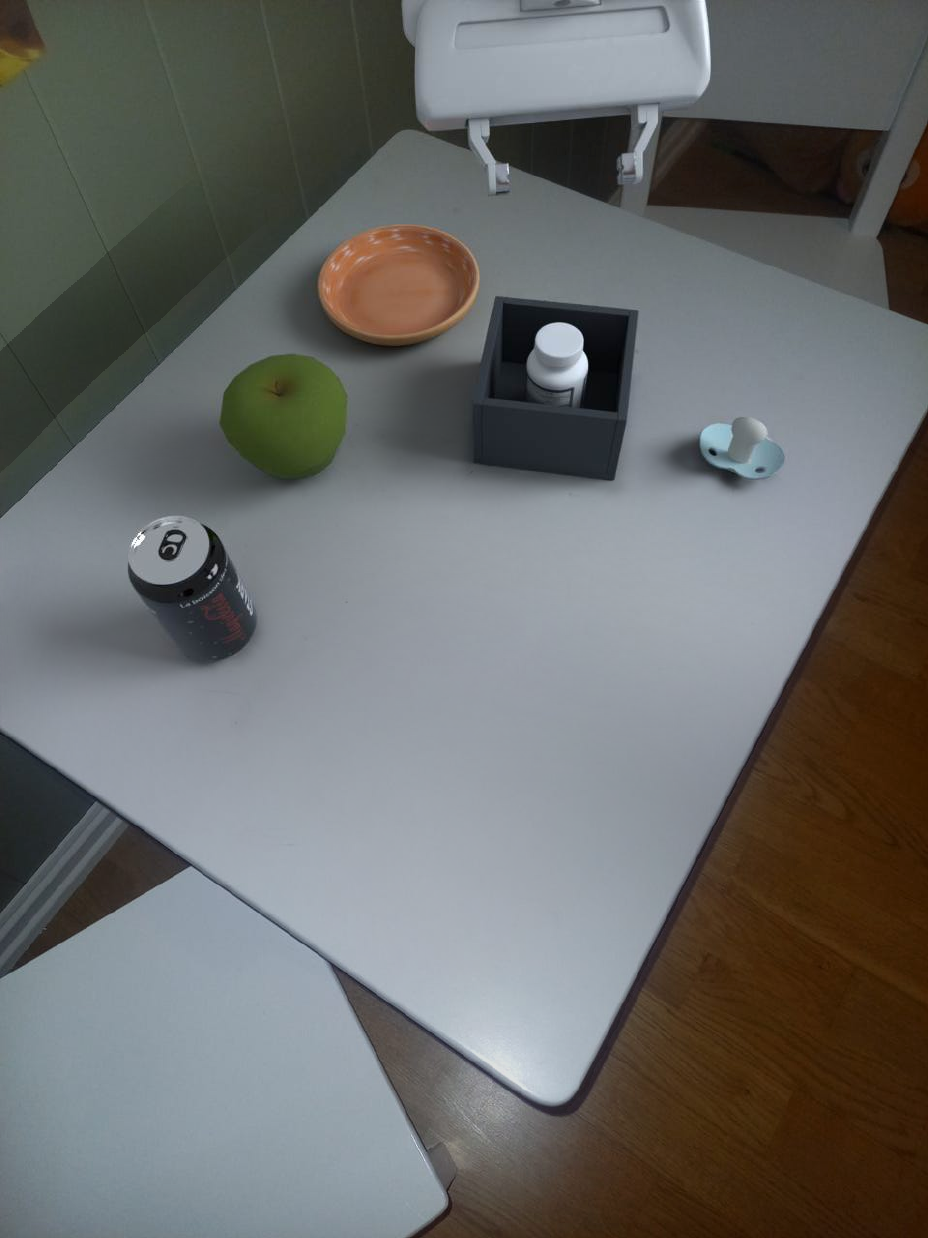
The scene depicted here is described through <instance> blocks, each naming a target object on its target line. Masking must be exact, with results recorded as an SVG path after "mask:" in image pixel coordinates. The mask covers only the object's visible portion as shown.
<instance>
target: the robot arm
mask: <svg viewBox="0 0 928 1238" xmlns="http://www.w3.org/2000/svg"><path fill="white" fill-rule="evenodd" d="M706 3H707V2H706V0H401V15H402V26H403V33H404V35H405V38H406V40H407V41H408V43H409V44H410V46H411V47H413V48H414V49H415V51H414V100H415V101H414V102H415V115H416V119H417V120H418V121H419V123H420V124H421V125H422V126H423V127H424V128H425V129H426V130H427V131H428V132H439V131H440V132H441V131H452V130H453V131H454V130H463V129H467V130H466V131H467V140H468V141H467V142H468V147H469V149H470V150H471V151H472V153H473V155H474V157H475V158H476V160H477V161H478V163H479V165H480V166H481V168H482V169H483V170H484V171H485V178H486V179H485V180H486V193H487V197H497V196H498V197H499V196H506V195H509V193H510V180H509V179H508V176H509V174H510V171H509V163H497V161H496V159H495V158H494V157H493V155H492V153H491V151H490V150H489V148H488V146H487V145H486V144H487V143H488V142H489V138H490V135H491V134H490V131H491V130H490V127H498V126H499V127H500V126H510V125H521V124H533V123H535V124H536V123H546V122H556V121H567V120H568V121H569V120H579V119H591V118H592V119H593V118H603V117H615V116H627V115H630V125H631V126H630V129H631V131H632V132H637V131H638V133H637V136H636V138H635V139H634V142H633V144H632V146H631V148H630V151H629V152H623V153H621V154H619V156H618V157H617V158H616V171H617V172H618V173H617V175H616V183H617V185H618V186H623V185H636V184H637V185H638V184H639V183H640V182H642V180H643V175H644V165H643V161H644V160H643V153H644V152H645V150H646V148H647V146H648V144H649V142H650V140H651V138H652V136H653V133H654V132H655V130H656V127H657V125H658V123H659V113H661V112H662V113H663V112H673V111H675V112H676V111H684V110H687V109H689V108H690V107H692V106H693V105H694V104H695V103H696V102H697V101H698V100H699V99H700V98H701V97H702V95H703V94H704V93H705V91H706V90H707V89H708V86H709V84H710V80H711V73H712V72H711V69H712V68H711V67H712V66H711V65H712V64H711V63H712V62H711V61H712V59H711V42H710V41H711V39H710V38H711V37H710V27H709V18H708V10H707V4H706Z"/></svg>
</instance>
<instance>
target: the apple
mask: <svg viewBox="0 0 928 1238" xmlns="http://www.w3.org/2000/svg"><path fill="white" fill-rule="evenodd" d="M348 398H349V395H348V393H347V391H346V389H345V386H344V384H343V383H342V381H341V379H340V377H339V376H338V375H337V374H336V373H335V372H334V371H333V370H332V369H331V368H330V367H329V366H328V365H326V364H325V363H323V362H321V361H320V360H319V359H317V358H315V357H314V356H308V355H302V354H296V353H286V354H278V355H276V354H275V355H269V356H267V357H265V358H263V359H261V360H258V361H255V362H254V363H251V364H250V365H249V366H246V368H244V369H243V370H242V371H240V372H239V373H237V374H236V375H235V376H234V377H232V379H231V381H230V382H229V384H228V385H227V387H226V388H225V390H224V391H223V394H222V402H221V409H220V416H219V427H220V429H221V431H222V433H223V434H224V437H225V439H226V440H227V443H228V444H230V446H231V447H232V448H233V449H234V450H235V451H236V452H237V453H238V454H239V455H240V456H241V457H242V458H243V459H245V460H246V461H247V462H248V463H250V464H251V465H253V466H254V467H256V469H259V470H261V471H262V472H264V473H266V474H268V475H269V476H271V477H275V478H279V479H283V480H301V479H306V478H309V477H312V476H314V475H317V474H320V473H321V472H322V471H323V470H324V469H326V468H327V467H328V466H329V465H330V464H332V462H333V460H334V459H335V456H336V454H337V452H338V450H339V447H340V446H341V444H342V441H343V439H344V437H345V436H346V435H345V434H346V427H347V413H348Z"/></svg>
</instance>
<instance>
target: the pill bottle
mask: <svg viewBox="0 0 928 1238" xmlns="http://www.w3.org/2000/svg"><path fill="white" fill-rule="evenodd" d="M587 372H588V361H587V357H586V355H585V353H584V352H583V336H582V334H581V332H580V331H579V330H578V329H577V328H576V327H574V326H572V325H570V324H567V323H551V324H548V325H546V326H544V327H542V328H541V329H540V330H539V331H538V333H537V335H536V337H535V346H534V349H533V350H532V352H531V353H530V355H529V357H528V359H527V365H526V387H525V402H528V403H537V404H546V405H555V406H564V407H573V408H582V409H583V403H584V396H585V388H586V380H587Z"/></svg>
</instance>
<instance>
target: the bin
mask: <svg viewBox="0 0 928 1238" xmlns="http://www.w3.org/2000/svg"><path fill="white" fill-rule="evenodd" d="M638 320H639V310H638V309H629V308H620V307H611V306H601V305H600V306H598V305H590V304H581V303H580V304H579V303H569V302H561V301H559V302H558V301H548V300H540V299H539V300H538V299H532V298H531V299H529V298H520V297H509V296H500V295H495V297H494V301H493V306H492V310H491V315H490V319H489V324H488V328H487V331H486V332H487V333H486V338H485V341H484V346H483V351H482V355H481V360H480V364H479V370H478V374H477V377H476V382H475V387H474V392H473V396H472V400H471V418H472V419H471V420H472V421H471V423H472V446H473V447H472V456H473V458H472V459H473V464H475V465H476V464H477V465H484V466H492V467H500V468H509V469H516V470H517V469H518V470H527V471H534V472H542V473H543V472H544V473H551V474H557V475H558V474H559V475H566V476H567V475H568V476H576V477H584V478H593V479H601V480H609V481H615V479H616V474H617V469H618V466H619V460H620V456H621V451H622V446H623V441H624V437H625V432H626V427H627V423H628V413H629V406H630V405H629V403H630V395H631V387H632V376H633V368H634V367H633V366H634V358H635V350H636V340H637V339H636V338H637V330H638V323H639V321H638ZM551 323H567V324H570V325H572V326H574V327H576V328H577V329H578V330H579V331H580V332H581V334H582V336H583V352H584V353H585V355H586V357H587V361H588V372H587V380H586V388H585V396H584V403H583V409H582V408H573V407H564V406H555V405H546V404H537V403H528V402H525V387H526V365H527V359H528V357H529V355H530V353H531V352H532V350H533V349H534V346H535V337H536V335H537V333H538V331H539V330H540V329H541V328H542V327H544V326H546V325H548V324H551Z"/></svg>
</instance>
